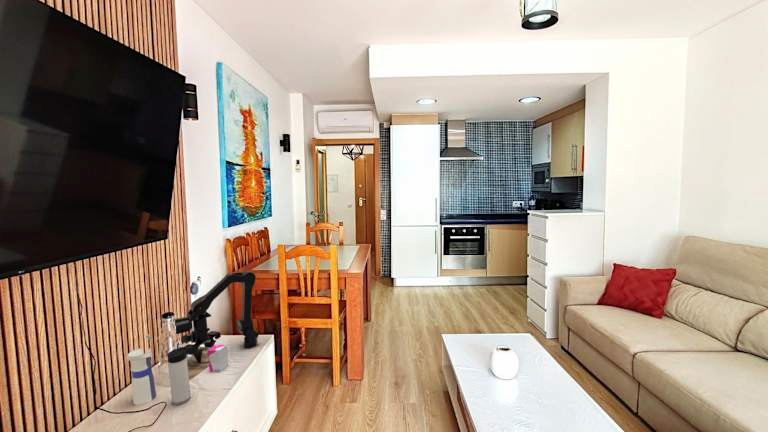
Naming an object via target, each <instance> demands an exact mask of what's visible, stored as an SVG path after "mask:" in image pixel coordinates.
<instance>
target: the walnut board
mask: <svg viewBox="0 0 768 432" xmlns="http://www.w3.org/2000/svg"><path fill="white" fill-rule="evenodd" d="M187 366H188V376H189V381H191V380H192V379H193V378H195V377H197V376H198V375H199V374H201V373H202V372H204V371H205V370H207V369H208V368H209V362H208V363H198V362H192V358H191V359H189V360H187Z"/></svg>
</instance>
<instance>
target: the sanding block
mask: <svg viewBox="0 0 768 432" xmlns="http://www.w3.org/2000/svg"><path fill="white" fill-rule="evenodd" d="M200 349H202V357H201V362H200V363H208V362H209V358H208V350H209V349H210V347H205V346H200ZM191 359H192V362H197V360H196V358H195V357H194V355H191Z"/></svg>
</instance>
